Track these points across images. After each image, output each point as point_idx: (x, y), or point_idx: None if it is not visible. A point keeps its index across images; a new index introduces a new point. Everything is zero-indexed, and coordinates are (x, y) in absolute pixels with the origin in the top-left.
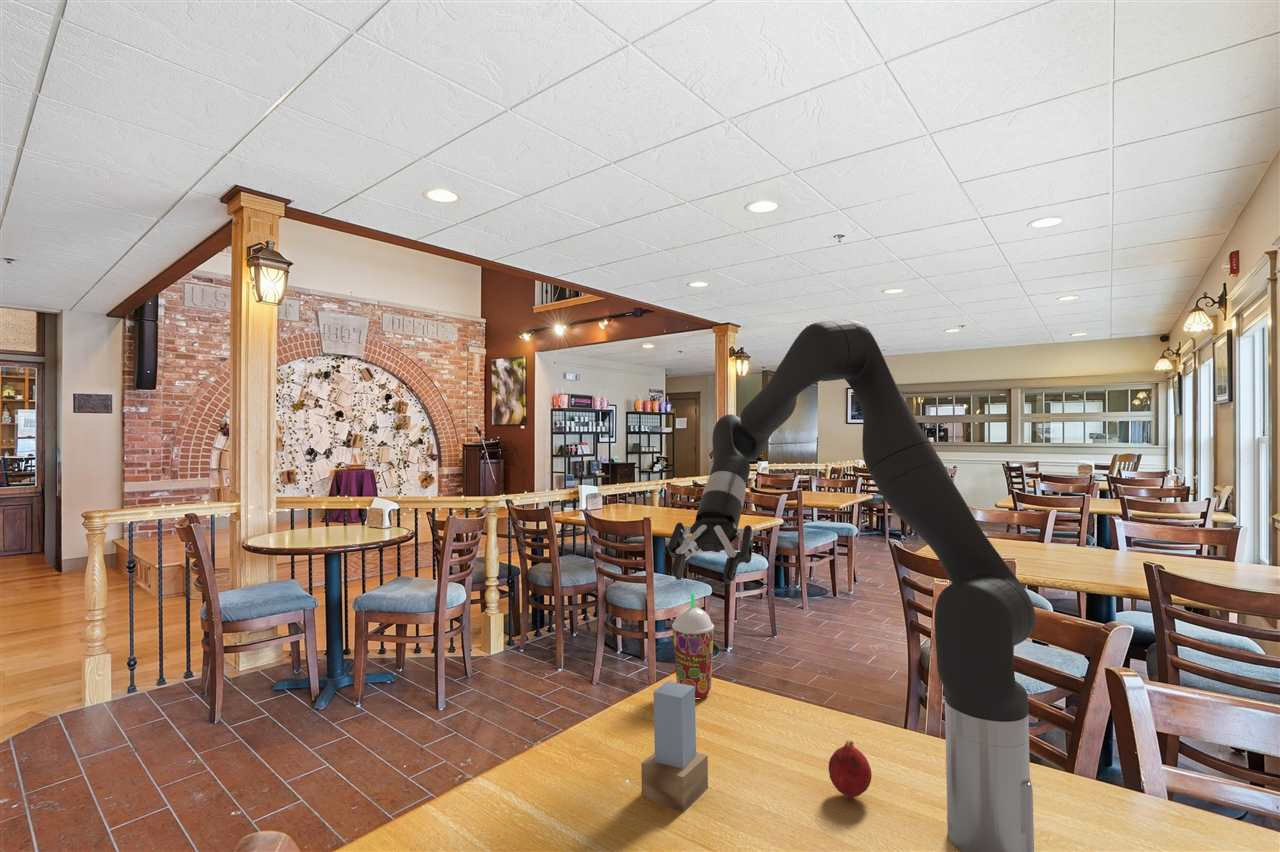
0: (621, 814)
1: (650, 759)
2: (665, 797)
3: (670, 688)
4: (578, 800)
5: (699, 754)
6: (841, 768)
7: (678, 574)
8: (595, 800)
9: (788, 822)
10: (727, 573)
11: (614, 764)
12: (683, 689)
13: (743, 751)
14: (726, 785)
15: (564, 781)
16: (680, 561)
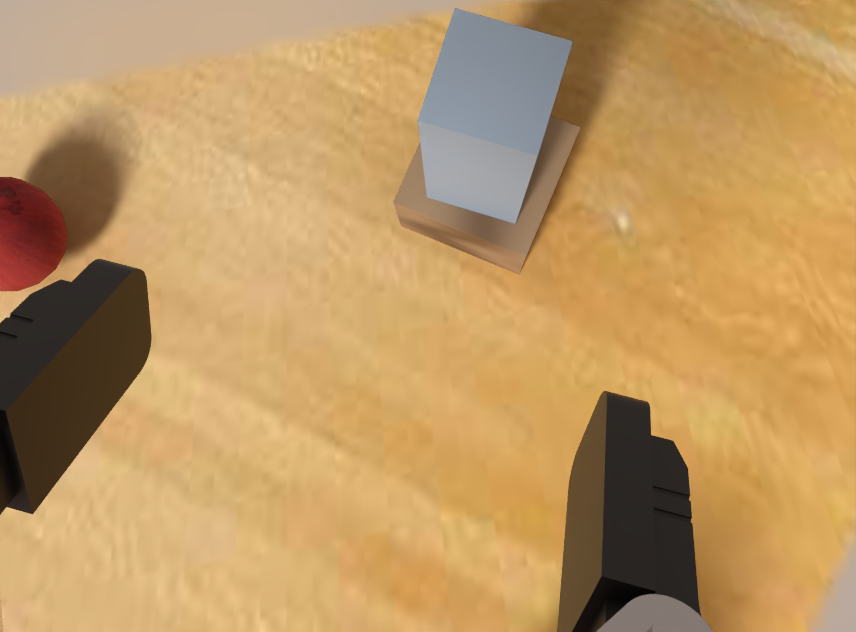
0: (599, 77)
1: (557, 148)
2: None
3: (511, 84)
4: (724, 111)
5: (417, 204)
6: (16, 184)
7: (595, 416)
8: (681, 119)
9: (202, 123)
10: (79, 275)
11: (682, 296)
12: (457, 81)
13: (311, 439)
14: (353, 248)
15: (794, 186)
16: (605, 492)
